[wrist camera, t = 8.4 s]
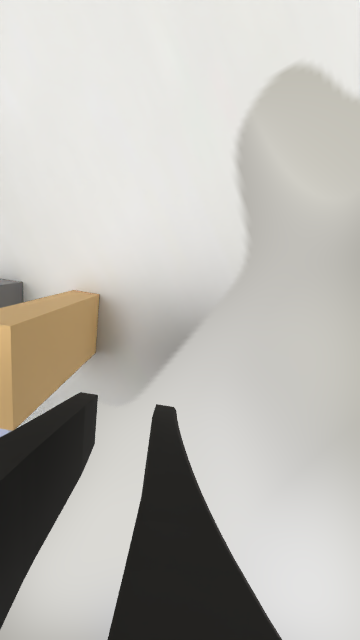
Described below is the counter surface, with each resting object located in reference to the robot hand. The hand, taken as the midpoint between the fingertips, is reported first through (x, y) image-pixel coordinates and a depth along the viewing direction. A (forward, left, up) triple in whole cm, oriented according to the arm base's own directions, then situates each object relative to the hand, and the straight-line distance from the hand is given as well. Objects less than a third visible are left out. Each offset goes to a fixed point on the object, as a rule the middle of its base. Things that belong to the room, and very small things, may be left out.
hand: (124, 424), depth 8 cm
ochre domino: (0, +6, -10) cm, 12 cm away
